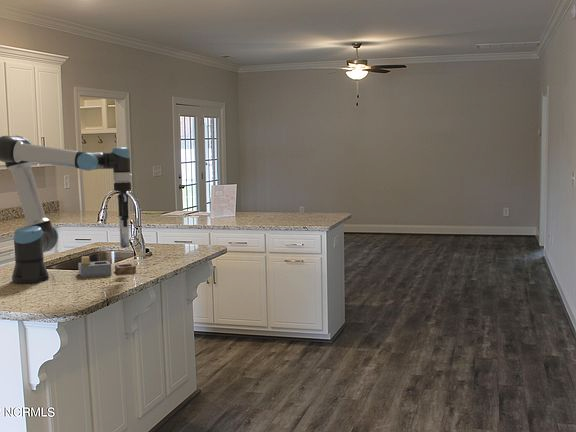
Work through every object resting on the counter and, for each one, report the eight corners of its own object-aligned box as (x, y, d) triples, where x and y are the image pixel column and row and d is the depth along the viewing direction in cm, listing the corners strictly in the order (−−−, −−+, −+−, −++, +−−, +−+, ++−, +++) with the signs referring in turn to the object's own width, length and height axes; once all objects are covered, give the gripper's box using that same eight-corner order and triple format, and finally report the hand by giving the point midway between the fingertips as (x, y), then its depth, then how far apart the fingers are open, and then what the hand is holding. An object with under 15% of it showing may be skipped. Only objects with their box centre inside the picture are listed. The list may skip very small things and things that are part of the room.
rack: (117, 276, 301) (116, 267, 301) (114, 273, 309) (113, 264, 309) (137, 275, 305) (137, 266, 304) (133, 271, 313) (133, 263, 312)
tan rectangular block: (83, 273, 298) (82, 257, 297) (82, 272, 301) (81, 256, 300) (90, 272, 299) (89, 257, 298) (89, 271, 302) (88, 256, 301)
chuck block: (81, 280, 295) (80, 266, 294) (78, 276, 304) (78, 262, 303) (111, 277, 300) (111, 264, 299) (108, 273, 309) (107, 260, 308)
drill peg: (121, 247, 303) (119, 216, 302) (119, 246, 307) (118, 216, 305) (130, 247, 305) (128, 216, 303) (128, 245, 308) (127, 215, 307)
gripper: (134, 182, 296) (136, 235, 299) (127, 180, 312) (129, 230, 314) (116, 183, 293) (119, 236, 296) (110, 181, 309) (113, 231, 311)
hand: (124, 233), depth 305 cm, fingers closed on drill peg, 4 cm apart
